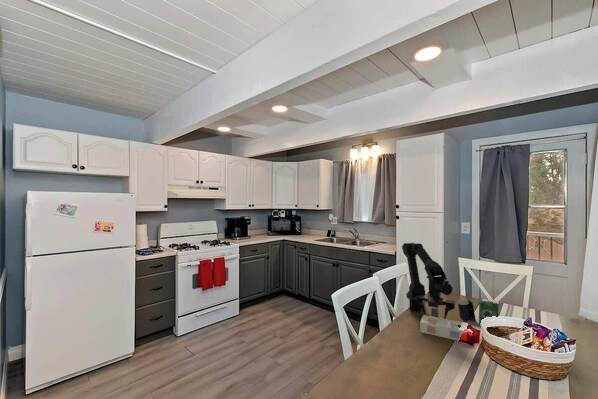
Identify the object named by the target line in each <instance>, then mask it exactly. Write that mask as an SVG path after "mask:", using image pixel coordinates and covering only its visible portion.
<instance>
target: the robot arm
mask: <svg viewBox="0 0 598 399" xmlns="http://www.w3.org/2000/svg"><path fill="white" fill-rule="evenodd" d="M401 248H402V249H401V250H402V252H403V254H404V256H405V257H406V258H407V265H408V272H409V278H410V284H409V286H408V289H409V290H408V291H407V292H406V298H407V299H408V300H409V301H408V302H409V304H408V305H409V306H408V310H410V311H415V312H421V311H423V315H427V307H426V303H427V306H428V307H431V308H432V307H435V308H438V309H439V306H445V307H444V315H443V319H447V316H448V313H449V311H452V310H455V308H456V301H454V300H453V299H452V300H451V299H446V300H445V301H444V298H442V296H441V295H442V294H443V295H445V296H450V295H451V294H452V293H453V290H454V289H453V287H452V285H451V284H450V281H448V280H447V279H448V278H447V275H446V274H445V272H444V269H443V268H442V266H441V265H440V263H438V262H437V261H435V260H433V259H432V257H431V256H430V255H429V254H428V252H427V251H426V249H425V248H424V246H423V244H422V243H420V242H418V243H415V242H404V243H403V245H402V246H401ZM417 256H418V257H419V259H420V260H421V262H422V263H423V265H424V270H425V272H426V275H427V276H426V279H428V296H427V298H425V297H426V289H425V285H424V284H423V283H422V282H421V280H420V276H419V269H418V263H417Z"/></svg>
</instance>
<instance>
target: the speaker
mask: <svg viewBox="0 0 598 399" xmlns="http://www.w3.org/2000/svg"><path fill="white" fill-rule="evenodd" d="M457 306H458V308H457V309H458V312H459V317H460V319H462V320H470V319H472V320H473V321H474V322H476V321H477V320H476V314H475V308H474V303H473V301H472V300H471V299H469V298H467V300H460V301H457Z"/></svg>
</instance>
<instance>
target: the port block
mask: <svg viewBox="0 0 598 399" xmlns="http://www.w3.org/2000/svg"><path fill="white" fill-rule="evenodd" d="M458 325H461V327H460V328H459V327H458ZM468 325H469V324H468V322H462V321H458V320H453V319H447V318H446V319H444V317H439V316H438V317H433V316H431V315H427V314H426V315H424V314H422V317H421V320H420V323H419V326H420V327H419V328H420V333H422V334H427V335H432V336H435V337H441V338H446V339H450V340H454V341H459V340H460V337H461V335H462V334H463V333H464V332H467V331H464V329H467V326H468ZM468 327H469V326H468ZM459 342H460V341H459Z"/></svg>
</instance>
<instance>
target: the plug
mask: <svg viewBox="0 0 598 399" xmlns="http://www.w3.org/2000/svg"><path fill="white" fill-rule="evenodd" d="M430 309H431V310H430V311H431V313H430V314H431V315H430V316H433V317H438V318H439V307H438V308H435V307H431V308H430Z"/></svg>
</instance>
